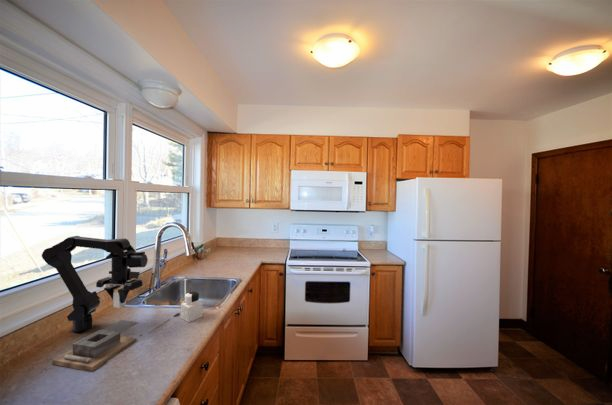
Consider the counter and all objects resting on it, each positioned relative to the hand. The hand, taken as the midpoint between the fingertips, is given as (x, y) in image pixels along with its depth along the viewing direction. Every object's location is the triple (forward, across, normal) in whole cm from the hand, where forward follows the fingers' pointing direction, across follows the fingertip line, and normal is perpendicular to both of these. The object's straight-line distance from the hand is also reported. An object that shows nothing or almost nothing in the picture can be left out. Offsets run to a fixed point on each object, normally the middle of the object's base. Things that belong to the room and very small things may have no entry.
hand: (119, 302), depth 107 cm
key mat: (+12, 0, 0) cm, 12 cm away
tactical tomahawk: (+12, -18, -6) cm, 22 cm away
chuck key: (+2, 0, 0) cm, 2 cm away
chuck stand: (+12, -8, +16) cm, 21 cm away
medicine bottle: (+12, -25, -15) cm, 31 cm away
